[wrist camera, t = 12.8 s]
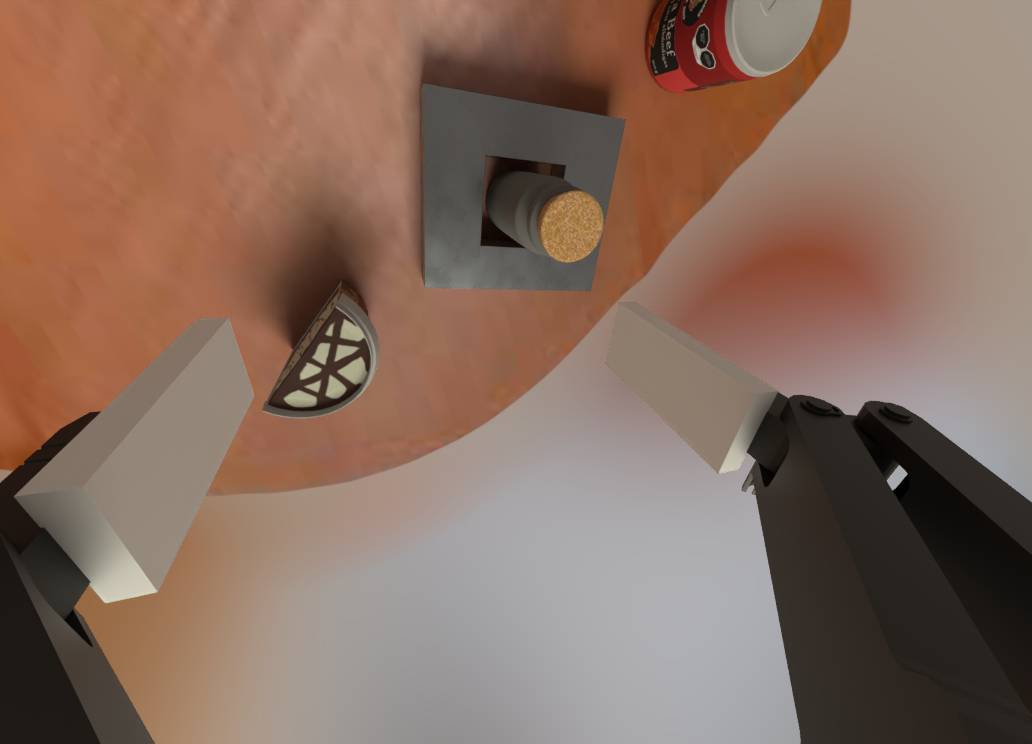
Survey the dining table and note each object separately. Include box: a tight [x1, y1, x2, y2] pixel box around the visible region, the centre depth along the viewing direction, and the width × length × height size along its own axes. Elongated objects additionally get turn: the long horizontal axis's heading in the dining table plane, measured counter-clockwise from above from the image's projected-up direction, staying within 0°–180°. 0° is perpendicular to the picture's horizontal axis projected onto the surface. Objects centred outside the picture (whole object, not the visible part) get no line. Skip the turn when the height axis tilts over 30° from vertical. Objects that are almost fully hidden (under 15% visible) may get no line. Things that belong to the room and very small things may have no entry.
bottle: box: [486, 170, 604, 262], centre depth 32 cm, size 6×6×15 cm
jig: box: [420, 83, 626, 291], centre depth 37 cm, size 16×18×4 cm
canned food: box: [645, 0, 822, 93], centre depth 31 cm, size 8×8×11 cm
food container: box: [262, 280, 380, 418], centre depth 36 cm, size 12×6×10 cm, turn 138°
